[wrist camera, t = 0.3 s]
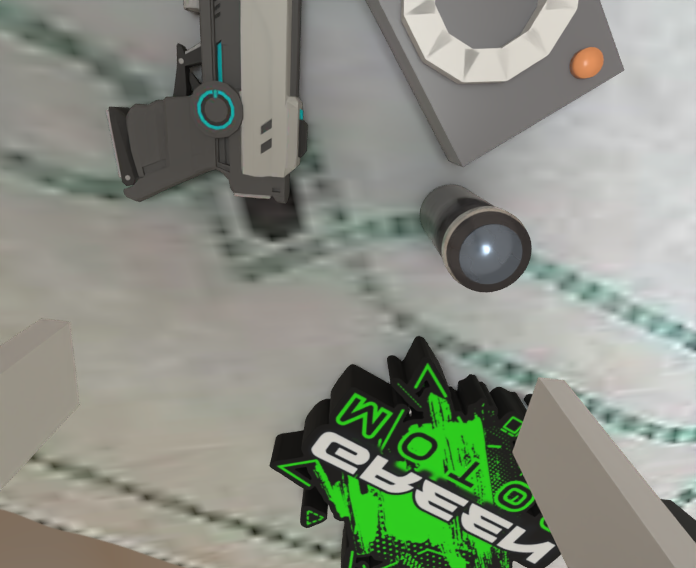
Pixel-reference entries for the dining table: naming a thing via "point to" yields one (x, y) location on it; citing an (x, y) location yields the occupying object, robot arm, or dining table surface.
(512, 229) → the lens
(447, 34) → the camera body
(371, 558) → the sign
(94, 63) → the dining table surface
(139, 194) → the handgun
